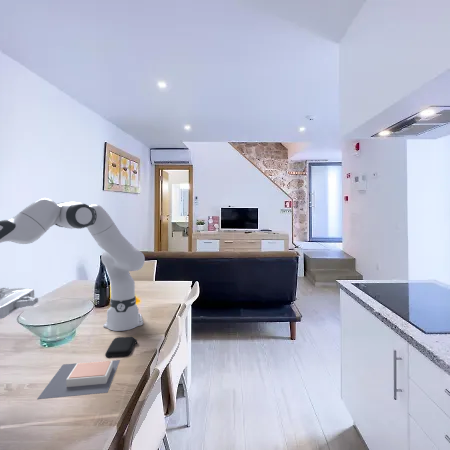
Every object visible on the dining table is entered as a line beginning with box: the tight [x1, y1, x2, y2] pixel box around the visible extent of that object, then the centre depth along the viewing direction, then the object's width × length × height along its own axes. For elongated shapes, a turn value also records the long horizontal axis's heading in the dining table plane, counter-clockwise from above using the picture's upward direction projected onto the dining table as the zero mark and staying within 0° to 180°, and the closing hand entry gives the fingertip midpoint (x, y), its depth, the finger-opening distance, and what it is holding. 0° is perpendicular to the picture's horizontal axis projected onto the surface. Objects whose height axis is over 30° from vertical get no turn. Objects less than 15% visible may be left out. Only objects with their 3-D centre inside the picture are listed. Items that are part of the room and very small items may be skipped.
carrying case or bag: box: [104, 336, 138, 358], centre depth 119 cm, size 11×3×15 cm
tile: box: [66, 360, 114, 387], centre depth 99 cm, size 10×3×12 cm
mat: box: [37, 359, 121, 400], centre depth 98 cm, size 20×20×1 cm
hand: (36, 301), depth 95 cm, fingers closed
